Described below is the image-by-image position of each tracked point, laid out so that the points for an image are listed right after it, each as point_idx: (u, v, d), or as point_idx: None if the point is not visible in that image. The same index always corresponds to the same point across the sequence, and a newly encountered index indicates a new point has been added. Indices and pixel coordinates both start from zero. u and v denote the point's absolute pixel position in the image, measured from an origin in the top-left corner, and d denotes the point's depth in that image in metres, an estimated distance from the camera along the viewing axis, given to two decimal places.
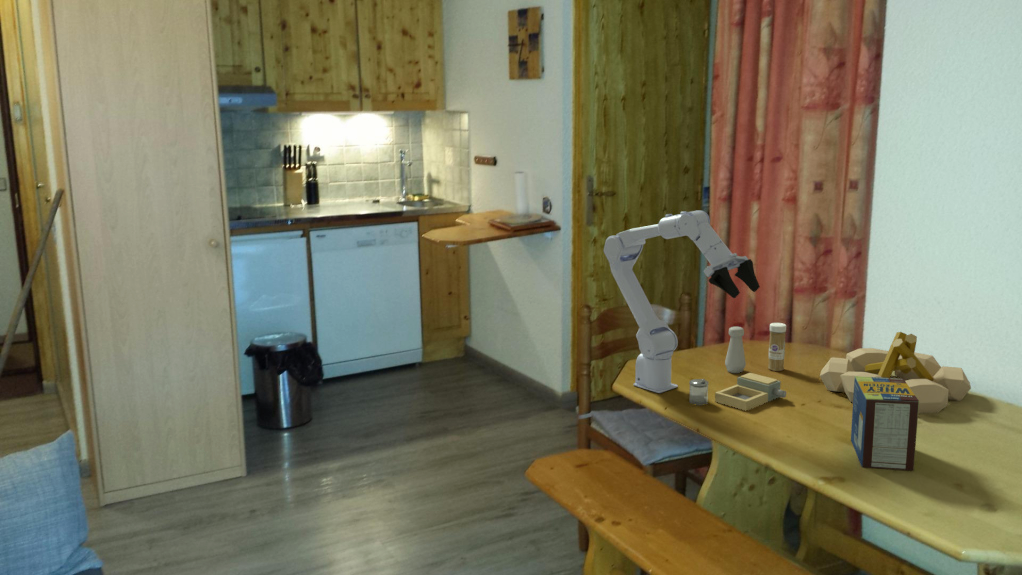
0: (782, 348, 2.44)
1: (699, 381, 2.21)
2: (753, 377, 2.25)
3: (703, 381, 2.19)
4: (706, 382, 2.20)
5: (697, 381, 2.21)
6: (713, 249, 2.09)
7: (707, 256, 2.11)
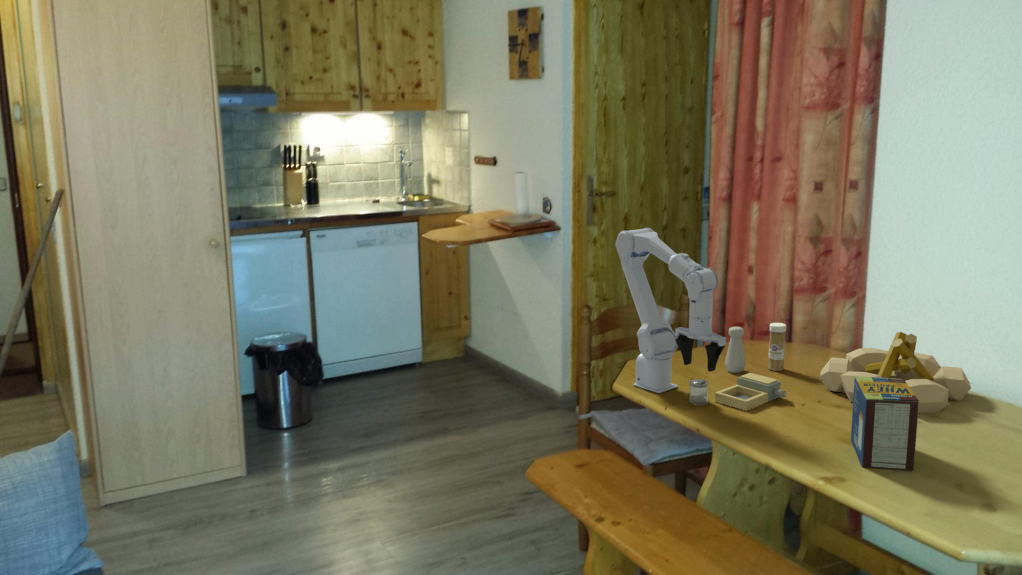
0: (782, 348, 2.44)
1: (699, 381, 2.21)
2: (753, 377, 2.25)
3: (703, 381, 2.19)
4: (706, 382, 2.20)
5: (697, 381, 2.21)
6: (689, 318, 2.17)
7: None
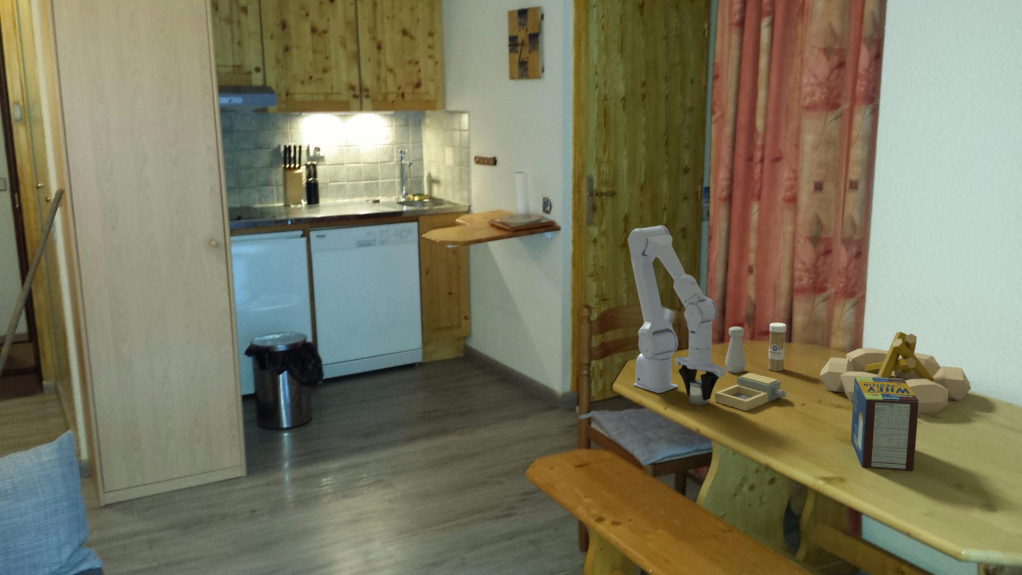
0: (782, 348, 2.44)
1: (699, 381, 2.21)
2: (753, 377, 2.25)
3: None
4: None
5: (697, 381, 2.21)
6: None
7: None
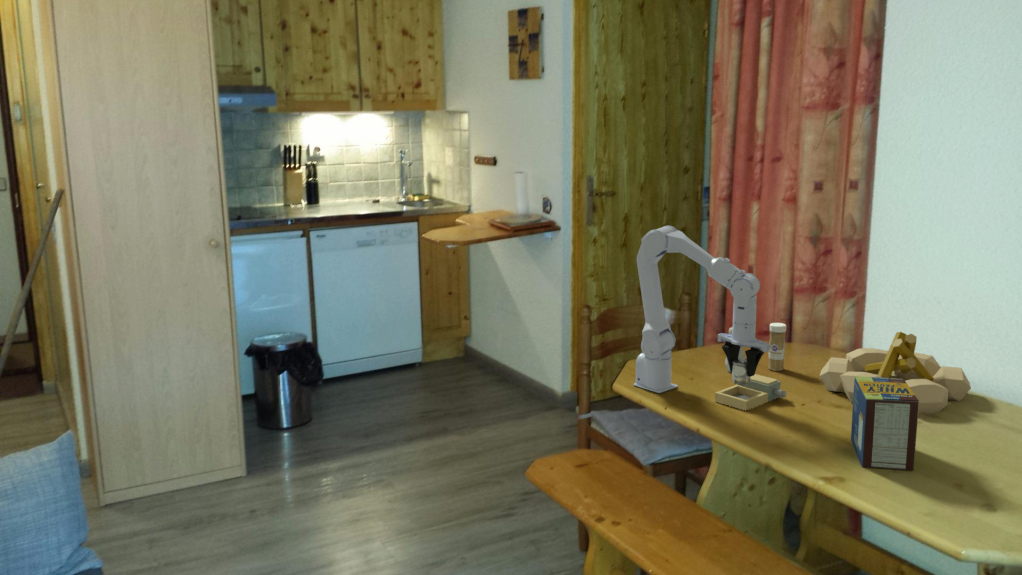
0: (782, 348, 2.44)
1: (742, 361, 2.19)
2: (753, 377, 2.25)
3: (746, 361, 2.17)
4: None
5: (740, 361, 2.19)
6: None
7: None
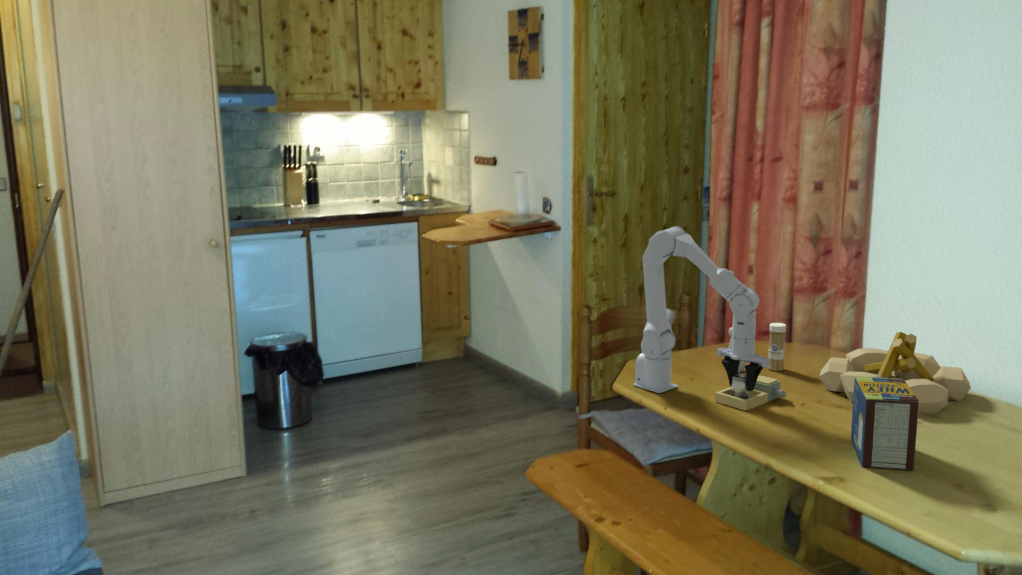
0: (782, 348, 2.44)
1: (742, 375, 2.20)
2: None
3: (746, 375, 2.18)
4: None
5: (740, 375, 2.20)
6: (732, 339, 2.18)
7: None
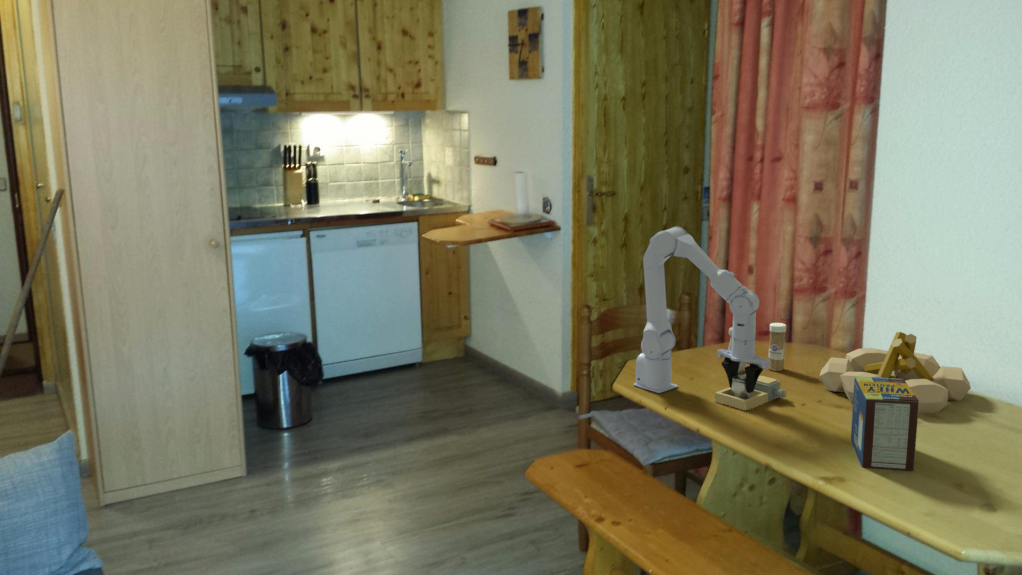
0: (782, 348, 2.44)
1: (742, 377, 2.20)
2: None
3: None
4: None
5: (740, 377, 2.20)
6: (732, 340, 2.18)
7: None
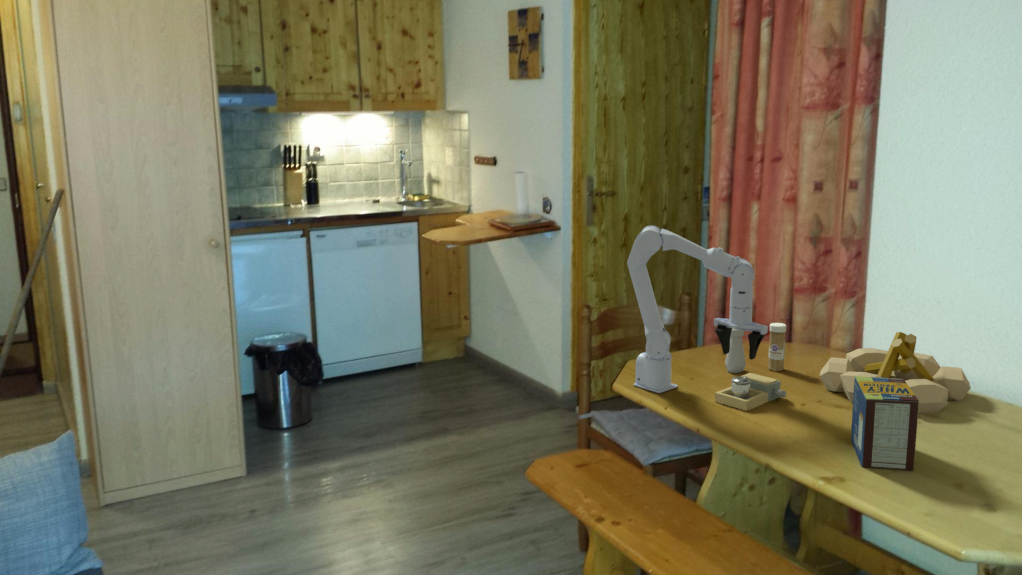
0: (782, 348, 2.44)
1: (741, 379, 2.20)
2: (753, 377, 2.25)
3: (745, 379, 2.18)
4: (748, 380, 2.19)
5: (739, 379, 2.20)
6: None
7: None
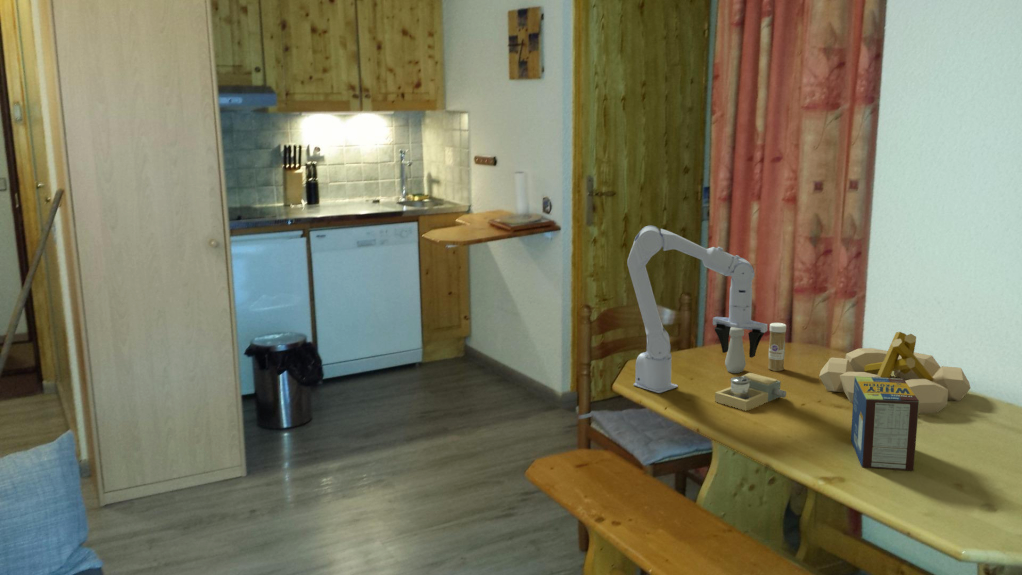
0: (782, 348, 2.44)
1: (740, 378, 2.20)
2: (753, 377, 2.25)
3: (744, 378, 2.18)
4: (747, 379, 2.19)
5: (738, 378, 2.20)
6: (729, 307, 2.26)
7: None
